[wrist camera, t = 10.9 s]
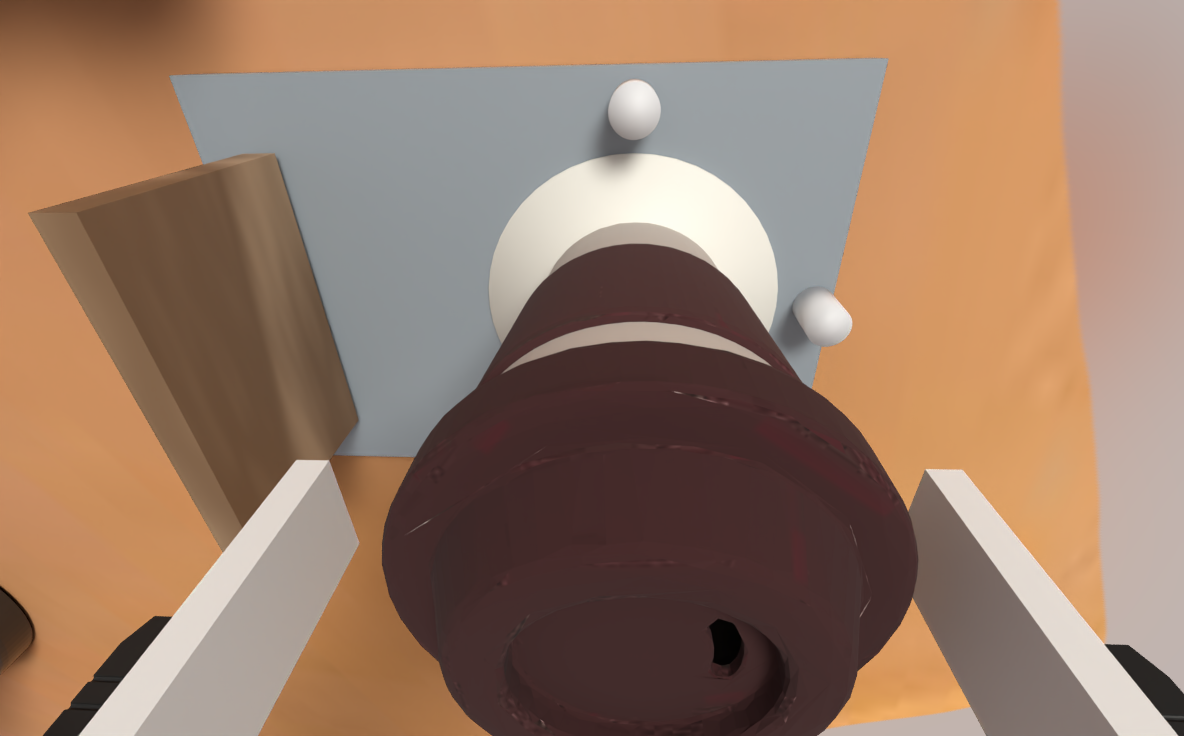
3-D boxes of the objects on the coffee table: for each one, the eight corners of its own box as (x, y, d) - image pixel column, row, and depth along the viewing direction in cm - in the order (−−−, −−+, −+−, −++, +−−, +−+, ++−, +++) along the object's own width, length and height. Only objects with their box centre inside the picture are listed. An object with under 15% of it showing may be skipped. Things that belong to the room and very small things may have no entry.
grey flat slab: (326, 439, 28) (293, 482, 25) (193, 73, 19) (121, 78, 16) (789, 449, 26) (807, 496, 24) (876, 57, 18) (921, 60, 15)
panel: (302, 419, 25) (182, 555, 19) (201, 154, 19) (-36, 213, 12) (358, 420, 25) (258, 558, 18) (274, 153, 19) (76, 212, 12)
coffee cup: (480, 355, 23) (296, 742, 10) (568, 131, 18) (427, 334, 5) (680, 436, 25) (738, 855, 12) (810, 251, 20) (1146, 623, 7)
